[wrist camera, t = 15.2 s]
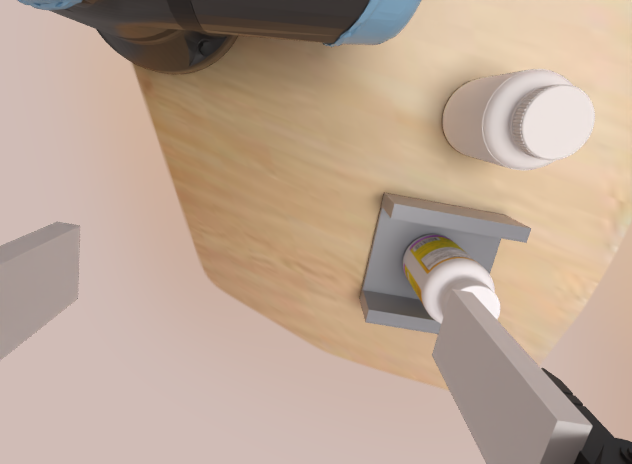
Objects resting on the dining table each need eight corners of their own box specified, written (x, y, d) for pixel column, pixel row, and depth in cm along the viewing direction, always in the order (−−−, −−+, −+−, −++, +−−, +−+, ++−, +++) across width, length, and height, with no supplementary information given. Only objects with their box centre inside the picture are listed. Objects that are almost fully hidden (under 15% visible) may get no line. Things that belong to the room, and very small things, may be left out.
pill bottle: (445, 163, 45) (508, 187, 31) (436, 87, 43) (499, 74, 28) (518, 148, 45) (617, 165, 30) (512, 71, 43) (616, 49, 28)
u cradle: (384, 192, 46) (394, 203, 40) (504, 214, 47) (531, 228, 41) (359, 298, 49) (365, 322, 44) (472, 317, 50) (492, 342, 45)
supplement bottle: (443, 294, 48) (489, 357, 36) (392, 275, 48) (420, 332, 35) (469, 244, 47) (526, 290, 34) (416, 223, 46) (455, 263, 34)
